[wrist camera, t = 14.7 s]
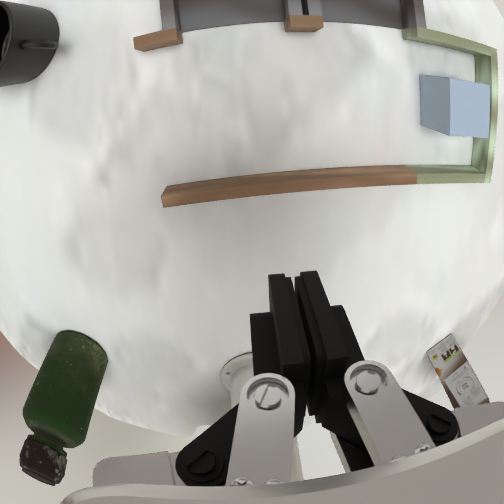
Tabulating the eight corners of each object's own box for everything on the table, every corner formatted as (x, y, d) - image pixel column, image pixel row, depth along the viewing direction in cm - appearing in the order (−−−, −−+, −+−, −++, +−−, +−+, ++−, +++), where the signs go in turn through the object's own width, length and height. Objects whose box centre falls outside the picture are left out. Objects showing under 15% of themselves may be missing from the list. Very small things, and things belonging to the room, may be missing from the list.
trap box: (476, 174, 33) (490, 182, 30) (169, 196, 33) (163, 207, 31) (475, 2, 20) (490, 0, 18) (137, -13, 21) (128, -21, 18)
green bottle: (86, 374, 50) (52, 490, 29) (45, 339, 45) (-4, 458, 24) (119, 361, 48) (87, 495, 26) (75, 321, 43) (20, 461, 21)
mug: (66, 87, 26) (18, 97, 18) (-5, 81, 23) (-54, 92, 16) (89, 8, 21) (45, -7, 14) (12, 10, 19) (-35, 6, 11)
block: (458, 126, 30) (488, 138, 25) (420, 124, 30) (449, 136, 25) (457, 79, 27) (489, 85, 21) (418, 74, 27) (449, 77, 22)
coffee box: (424, 351, 51) (457, 419, 37) (451, 332, 49) (488, 397, 35) (436, 367, 55) (464, 427, 41) (460, 350, 52) (492, 408, 39)
